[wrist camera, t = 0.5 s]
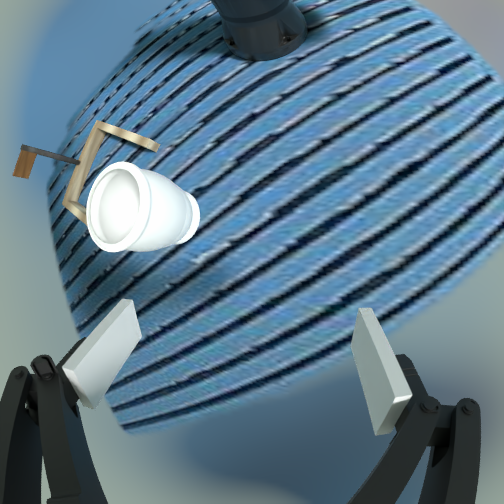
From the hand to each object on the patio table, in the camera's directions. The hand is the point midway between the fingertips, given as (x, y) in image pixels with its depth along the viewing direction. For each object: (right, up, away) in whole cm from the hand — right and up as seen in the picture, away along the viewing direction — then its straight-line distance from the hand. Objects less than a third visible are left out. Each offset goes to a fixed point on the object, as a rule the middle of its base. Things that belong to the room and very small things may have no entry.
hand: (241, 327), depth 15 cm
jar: (-11, +10, +28) cm, 32 cm away
